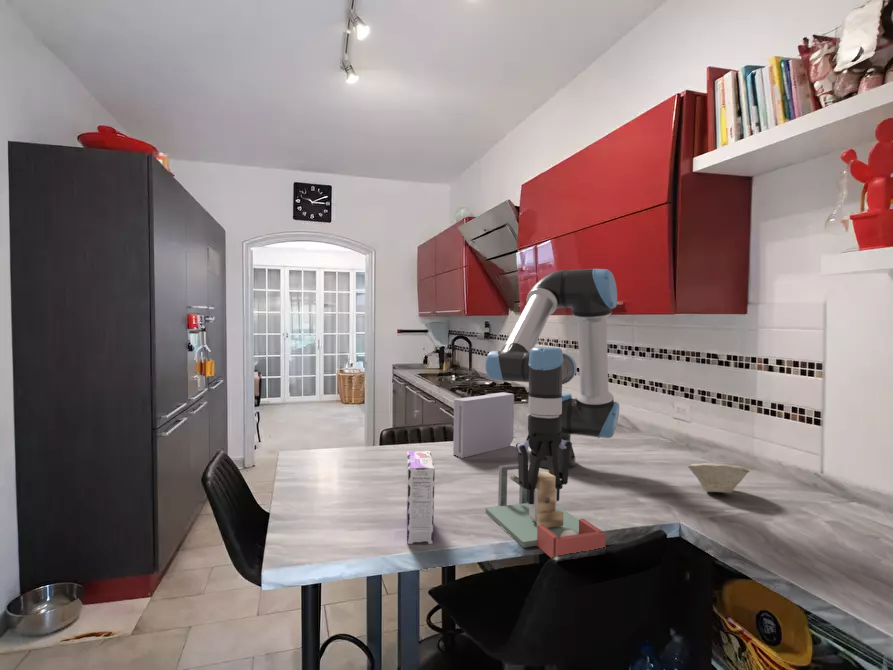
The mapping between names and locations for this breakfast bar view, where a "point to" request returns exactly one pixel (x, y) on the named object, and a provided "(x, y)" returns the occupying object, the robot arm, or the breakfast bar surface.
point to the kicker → (545, 500)
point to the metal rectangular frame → (503, 486)
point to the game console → (483, 423)
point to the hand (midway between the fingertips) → (542, 516)
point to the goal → (570, 540)
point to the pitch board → (527, 523)
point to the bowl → (718, 476)
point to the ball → (568, 533)
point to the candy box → (420, 497)
